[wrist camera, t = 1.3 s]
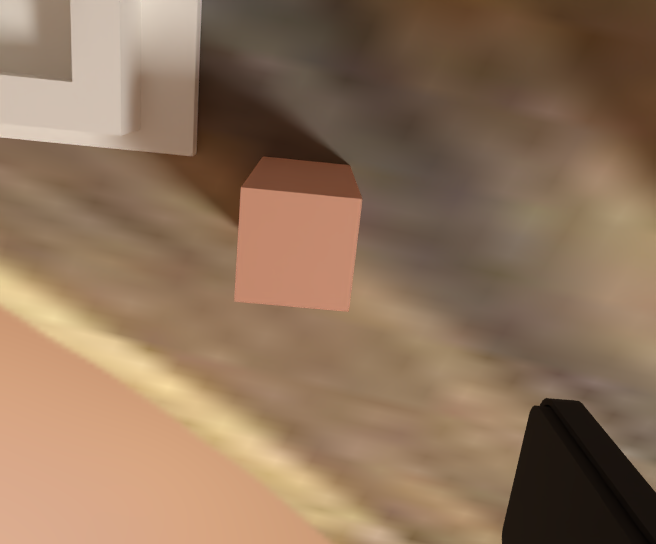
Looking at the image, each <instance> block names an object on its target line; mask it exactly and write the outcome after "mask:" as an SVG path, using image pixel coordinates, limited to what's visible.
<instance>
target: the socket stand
mask: <svg viewBox="0 0 656 544" xmlns="http://www.w3.org/2000/svg"><path fill="white" fill-rule="evenodd" d="M201 8H202V0H0V137H3V138H13V139H23V140H33V141H44V142H54V143H64V144H74V145H84V146H94V147H104V148H114V149H124V150H134V151H144V152H154V153H164V154H174V155H184V156H194V155H196V154H197V125H198V95H199V66H200V37H201Z"/></svg>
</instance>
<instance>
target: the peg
mask: <svg viewBox="0 0 656 544" xmlns="http://www.w3.org/2000/svg"><path fill="white" fill-rule="evenodd" d="M361 206H362V197H361V194H360V191H359V189H358V186H357V183H356V181H355V178H354V175H353V172H352V170H351V167H350V165H344V164H334V163H324V162H314V161H304V160H294V159H284V158H274V157H264V156H263V157H262V158H261V160H260V161H259V162H258V164H257V165H256V167H255V168H254V170H253V171H252V172H251V174H250V175H249V177H248V178H247V179H246V181H245V182H244V184H243V185H242V186H241V194H240V211H239V229H238V246H237V264H236V281H235V298H234V301H235V302H246V303H258V304H269V305H280V306H291V307H303V308H314V309H325V310H336V311H348V312H349V306H350V298H351V289H352V281H353V273H354V264H355V256H356V248H357V239H358V231H359V223H360V214H361Z"/></svg>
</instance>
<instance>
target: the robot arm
mask: <svg viewBox="0 0 656 544" xmlns="http://www.w3.org/2000/svg"><path fill="white" fill-rule="evenodd" d="M502 544H656V492H655V491H654V490H653V489H652V488H651V486H650V485H649V484H648V483H647V482H646V480H645V479H644V478H643V477H642V475H641V474H640V473H639V472H638V471H637V469H636V468H635V467H634V466H633V465H632V463H631V462H630V461H629V460H628V459H627V457H626V456H625V455H624V454H623V452H622V451H621V450H620V449H619V448H618V446H617V445H616V444H615V443H614V442H613V440H612V439H611V438H610V437H609V436H608V434H607V433H606V432H605V431H604V429H603V428H602V427H601V426H600V425H599V423H598V422H597V421H596V420H595V419H594V417H593V416H592V415H591V414H590V412H589V411H588V410H587V409H586V408H585V406H584V405H583V404H582V403H581V402H579V401H574V400H562V399H549V398H546V399H544V400H543V401H542V403H541V404H540V406H533V407H532V409H531V411H530V414H529V418H528V422H527V426H526V431H525V435H524V439H523V444H522V448H521V452H520V457H519V461H518V465H517V469H516V474H515V478H514V482H513V487H512V491H511V495H510V500H509V504H508V508H507V513H506V517H505V521H504V526H503V531H502Z"/></svg>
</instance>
